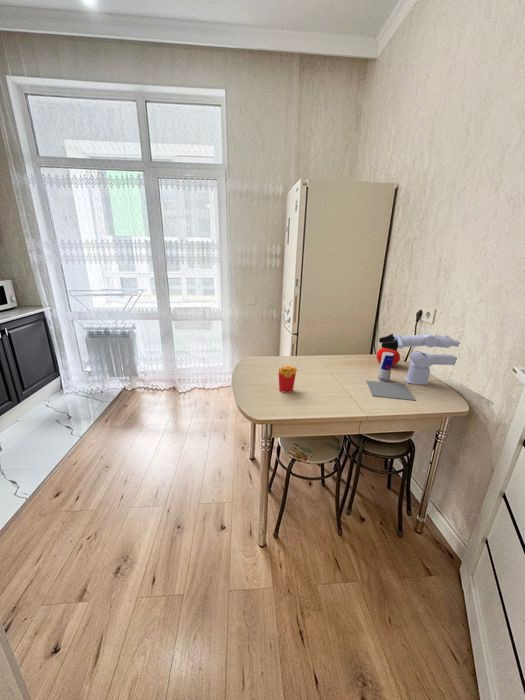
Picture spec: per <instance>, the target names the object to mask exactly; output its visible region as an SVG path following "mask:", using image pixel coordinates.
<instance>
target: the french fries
mask: <svg viewBox="0 0 525 700" xmlns="http://www.w3.org/2000/svg"><path fill="white" fill-rule="evenodd" d="M297 371H298V369H297V367H294V366H291V365H287V366H281V367H278V386H279V387H278V388H279V389H278V390H279V392H281V391H285V392H284V393H292V392H293V391H294V386H295V381H296V373H297ZM289 391H290V392H289ZM291 391H292V392H291Z"/></svg>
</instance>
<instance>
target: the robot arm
mask: <svg viewBox="0 0 525 700" xmlns="http://www.w3.org/2000/svg"><path fill="white" fill-rule="evenodd" d="M458 340H459V339H453V338H452V337H451V336H449V335H448V334H445V335H438V334H436V333H435V334H433V335H432V334H431V333H428V332H425V333H423V334H416V335H413V334H412V335H401V334H400V333H398V334H397V335H394V333H390V334H389V335H387V336H383V337H379V338H378V342H379V343H381V348H389V349H393V350H395V351H398V349H404V348H410V347H411V348H413V347H427V348H435V347H436V348H437V347H438V348H444V349H445V348H446V349H449V348H450V347H457V348H459V347H458V346H459V344H460V342H459V341H458ZM453 355H454V354H433V353H432V354H431V353H428V352H423V351H419V350H415V351H413V352H411V353H410V356H409V358H410V363H409V366H408V371H407V376H404V379H405V381H406V383H408V384H413V385H424V386H428V384H429V377H430V374H431V369H430V367H432V366H433V365H438V366H439V365H441V366H442V365H443V366H456V365H455V363H456V360H457V357H455V356H453Z"/></svg>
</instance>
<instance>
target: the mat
mask: <svg viewBox="0 0 525 700" xmlns="http://www.w3.org/2000/svg"><path fill="white" fill-rule="evenodd" d="M366 384H367V386H368V388H369V391H370V393H371V395H372V397H377V398H383V399H384V398H386V399H396V400H406V401H414V402H416V399H415V397H414V395H413V394H412V393H411V391H410V389H409V388H408V387H407V385H406V384H404V383H397V382H396V383H394V382H389V381H376V380H375V381H374V380H366Z"/></svg>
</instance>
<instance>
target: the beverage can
mask: <svg viewBox="0 0 525 700" xmlns="http://www.w3.org/2000/svg"><path fill="white" fill-rule="evenodd" d="M393 358H394V354H393V353H390V352H383V354H382V359H381V364H380V363H379V364H380V365H379V371H378V377H377V379H378V380H379V381H380V382H389V381H390V377H391V372H392V367H393V365H392V363H393Z"/></svg>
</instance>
